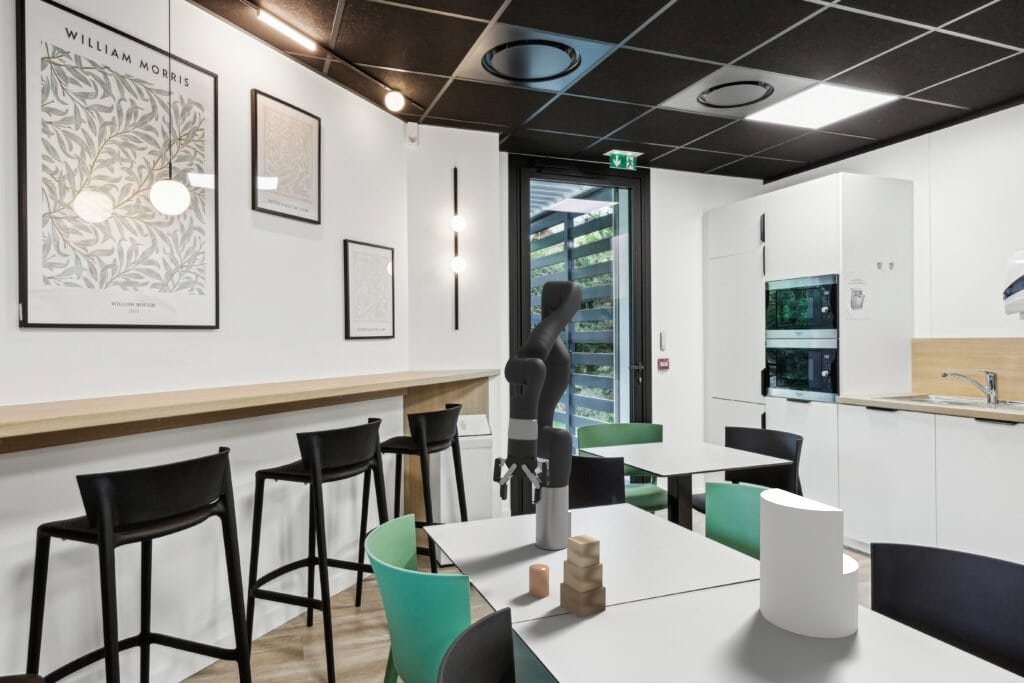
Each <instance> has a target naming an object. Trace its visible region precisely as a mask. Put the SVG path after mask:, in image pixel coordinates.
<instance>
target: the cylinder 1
mask: <svg viewBox="0 0 1024 683" xmlns="http://www.w3.org/2000/svg"><path fill="white" fill-rule="evenodd" d="M528 588H529V589H528V594H529V596H530V597H532V598H535V599H543V598H547V597H549V596H550V567H549V566H548V565H546V564H542V563H541V564H540V563H536V564H535V563H534V564H531V565H530V566H529V567H528Z"/></svg>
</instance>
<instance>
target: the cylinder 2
mask: <svg viewBox="0 0 1024 683" xmlns="http://www.w3.org/2000/svg"><path fill="white" fill-rule="evenodd" d="M759 495H760V497H759V498H760V502H759V504H760V508H759V510H760V511H759V512H760V516H759V517H760V520H759V523H760V525H759V531H760V532H759V534H760V536H759V537H760V539H759V611H760V615H761V616H762V617H763V618H764V619H765V620H766V621H768V622H769V623H771V624H773V625H774V626H776V627H778V628H780V629H782V630H785V631H788V632H791V633H795V634H798V635H802V636H807V637H812V638H818V639H819V638H822V639H839V638H846V637H849V636H852V635H855V633H856V632H857V631H858V630H859V563H858V561H856V560H855V559H854V558H852V557H851V556H850V555H847V554H845V553H844V525H845V524H844V522H845V521H844V513H845V511H844V509H841V508H837V507H835V506H832V505H828V504H826V503H822V502H821V501H820V502H819V501H817V500H814V499H811V498H808V497H804V496H802V495H798V494H795V493H792V492H791V491H790V492H789V491H787V490H784V489H781V488H769V489H766V490H765V489H764V490H763V491H762V492H760V494H759Z"/></svg>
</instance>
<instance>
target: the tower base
mask: <svg viewBox="0 0 1024 683" xmlns="http://www.w3.org/2000/svg"><path fill="white" fill-rule="evenodd" d="M559 586H560V587H559V589H560V590H559V606H561V607H562V608H563V609H565V610H567V611H568V612H570V613H571V614H573V615H575V616H577V618H583V617H587V616H591V615H594V614H597V613H601V612H604V611H606V609H607V606H606V604H607V603H606V602H607V600H606V598H607V596H606V595H607V593H606V592H607V591H606V590H607V588H606V587H605V586H604V585H603V587H601V588H597V589H594V590H590V591H586V592H582V593H580V592H578V591H576V590H574V589H573V588H571V587H569V586H567V585H565V584H564V581H563V582H560V584H559Z"/></svg>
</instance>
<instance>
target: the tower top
mask: <svg viewBox="0 0 1024 683" xmlns="http://www.w3.org/2000/svg"><path fill="white" fill-rule="evenodd" d="M600 541H601V540H599V539H597V538H594V537H593V536H590V535H587V534H580V535H575V536H571V537H570V538H567V547H566V560H567V561H568V562H570V563H572V564H574V565H576V566H578V567H580V568H584V567H588V566H592V565H596V564H600V563H601V562H600V560H601V559H600V552H601V550H600V545H601V544H600Z"/></svg>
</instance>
